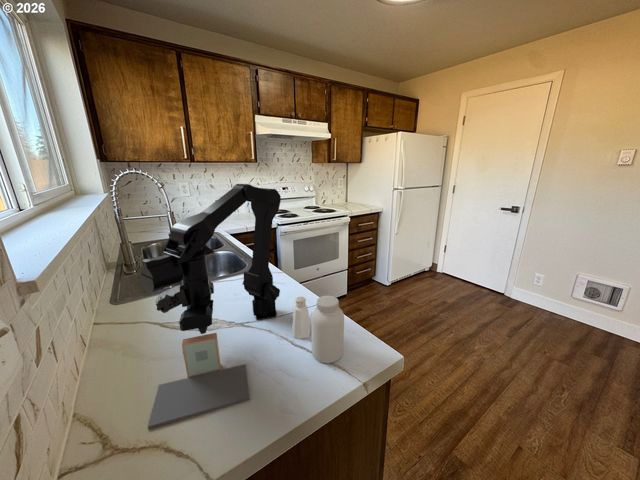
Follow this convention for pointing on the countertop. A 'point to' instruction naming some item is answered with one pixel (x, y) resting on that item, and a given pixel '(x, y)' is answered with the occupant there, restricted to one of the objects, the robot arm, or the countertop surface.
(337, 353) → the pill bottle
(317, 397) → the countertop surface
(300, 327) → the pepper shaker
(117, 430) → the countertop surface
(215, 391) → the mat
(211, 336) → the tile
